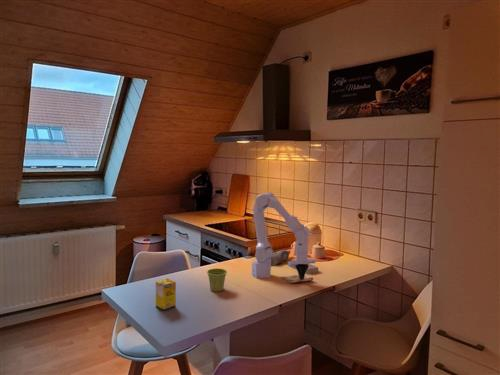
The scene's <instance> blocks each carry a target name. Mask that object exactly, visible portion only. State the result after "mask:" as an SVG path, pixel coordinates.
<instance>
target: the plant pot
mask: <svg viewBox="0 0 500 375" xmlns="http://www.w3.org/2000/svg"><path fill="white" fill-rule="evenodd" d="M206 273H207V277H208V281H209V289H210V291H213V292H221V291H223V290H224V286H225V280H226V276H227V273H228V270H227V269H224V268H211V269H208V270H207V271H206Z"/></svg>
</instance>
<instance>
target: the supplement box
mask: <svg viewBox="0 0 500 375" xmlns="http://www.w3.org/2000/svg"><path fill="white" fill-rule="evenodd" d="M176 285H177V282H176V280H172V279H170V278H165V279H161V280H160V279H159V280H157V281H155V308H157V309H160V310H161V311H163V312H165V311H167V310H171V309H173V308H176V305H177V304H176V299H177V298H176V296H177V295H176V294H177V293H176V291H177V290H176Z"/></svg>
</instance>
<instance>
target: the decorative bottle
mask: <svg viewBox="0 0 500 375" xmlns="http://www.w3.org/2000/svg"><path fill="white" fill-rule="evenodd" d="M290 254H291V250H285V249H280V250H278V251H276V252H273V256H272V257H271V267H275V266H277V265H279V264H280V263H283V262H284V260H285V262H286V261H287V260H288V258H290V256H289V255H290Z"/></svg>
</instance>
